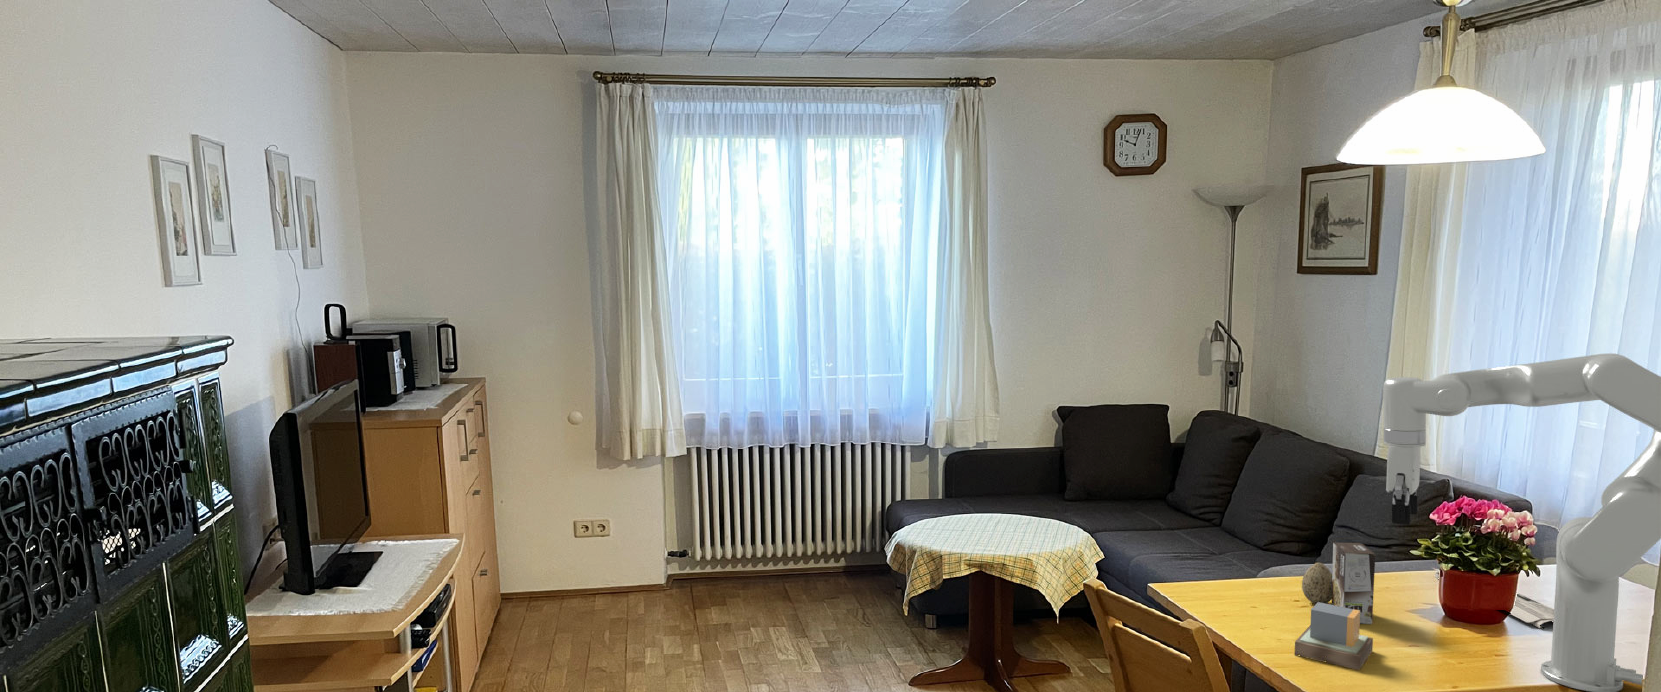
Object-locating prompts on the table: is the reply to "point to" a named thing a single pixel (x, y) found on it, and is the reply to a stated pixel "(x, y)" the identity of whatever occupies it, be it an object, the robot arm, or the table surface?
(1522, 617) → the newspaper
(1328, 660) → the stand
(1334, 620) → the block
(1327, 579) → the decorative egg
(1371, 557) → the coffee box
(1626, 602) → the table surface
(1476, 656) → the table surface
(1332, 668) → the table surface
